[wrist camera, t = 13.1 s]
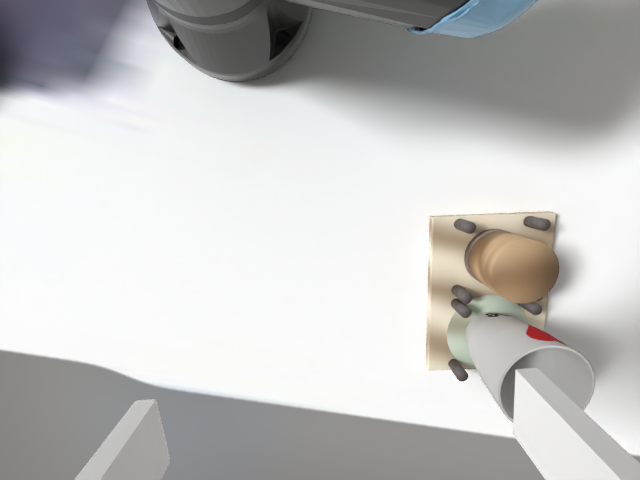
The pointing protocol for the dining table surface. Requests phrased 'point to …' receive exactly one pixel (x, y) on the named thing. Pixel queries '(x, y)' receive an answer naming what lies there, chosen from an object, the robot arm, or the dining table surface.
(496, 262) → the wooden round post
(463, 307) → the pin board
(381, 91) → the dining table surface
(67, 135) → the dining table surface
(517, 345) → the cup
